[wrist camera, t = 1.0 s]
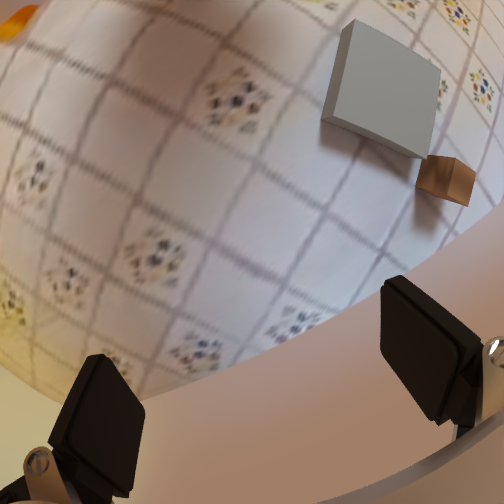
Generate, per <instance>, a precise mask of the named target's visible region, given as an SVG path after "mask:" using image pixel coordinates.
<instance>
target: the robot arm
mask: <svg viewBox="0 0 504 504" xmlns="http://www.w3.org/2000/svg"><path fill="white" fill-rule="evenodd" d="M380 293H381V335H380V337H381V339H380V350H381V353H382V355H383V357H384V358H385V360H386V361H387V362H388V364H389V365H390V366H391V368H392V369H393V370H394V372H395V373H396V374H397V376H398V377H399V379H400V380H401V381H402V383H403V384H404V385H405V387H406V388H407V390H408V391H409V393H410V394H411V395H412V397H413V398H414V400H415V401H416V402H417V404H418V405H419V407H420V408H421V410H422V411H423V412H424V414H425V415H426V417H427V418H428V419H429V420H430V421H433V420H434V421H435V422H436V424H437V425H438V426H439V425H441V424H443V423H444V422H446V421H447V420H449V419H451V421H452V422H453V423H454V431H453V437H452V442H451V443H450V444H449V445H447V446H445V447H444V448H442V449H440V450H439V451H437V452H435V453H434V454H432V455H430V456H428V457H426V458H425V459H423V460H421V461H419V462H417V463H415V464H414V465H412V466H410V467H408V468H406V469H404V470H402V471H400V472H398V473H396V474H393V475H391V476H389V477H387V478H385V479H383V480H380V481H378V482H375V483H373V484H370V485H368V486H365V487H363V488H360V489H358V490H355V491H352V492H350V493H347V494H344V495H341V496H338V497H335V498H332V499H328V500H325V501H321V502H318V503H314V504H504V336H498V337H494V338H492V339H490V340H489V341H488V342H487V343H485V345H483V344H482V343H481V342H480V341H481V339H480V338H479V337H478V336H477V335H476V334H475V333H473V332H472V331H471V330H470V329H469V328H468V327H466V326H465V325H464V324H463V323H462V322H461V321H459V320H458V319H457V318H456V317H455V316H453V315H452V314H451V313H449V311H447V310H446V309H445V308H444V307H442V306H441V305H440V304H439V303H437V302H436V301H435V300H433V299H432V298H431V297H430V296H428V295H427V294H426V293H424V292H423V291H422V290H421V289H419V288H418V287H417V286H416V285H414V284H413V283H412V282H410V281H409V280H408V279H406V278H405V277H404V276H402V275H398V276H395V277H393V278H390V279H387V280H385V282H384V285H383V286H382V287H381V290H380ZM144 420H145V410H144V408H143V406H142V404H141V403H140V402H139V400H138V399H137V397H136V396H135V395H134V393H133V392H132V390H131V389H130V388H129V386H128V385H127V383H126V382H125V380H124V379H123V377H122V376H121V374H120V373H119V371H118V370H117V368H116V367H115V365H114V364H113V362H112V360H111V359H110V358H109V357H106V356H105V355H104V354H97V355H90V356H88V357H87V358H86V360H85V362H84V364H83V366H82V368H81V370H80V372H79V374H78V376H77V378H76V380H75V382H74V384H73V386H72V388H71V390H70V392H69V394H68V396H67V398H66V401H65V403H64V405H63V407H62V409H61V412H60V414H59V416H58V419H57V420H56V423H55V425H54V428H53V430H52V432H51V435H50V437H49V439H48V443H49V444H50V445H51V446H52V447H53V450H52V451H51V450H49V449H48V448H47V447H37V448H34V449H33V450H32V451H30V452H29V454H28V455H27V456H26V458H25V460H24V464H23V470H24V476H22V477H20V478H19V479H17V480H16V481H14V482H13V483H11V484H9V485H8V486H6V487H5V488H3V489H2V490H1V491H0V504H114V502H113V501H112V496H113V495H114V496H115V497H121V498H129V492H130V491H131V490H132V489H133V484H134V478H135V470H136V464H137V459H138V453H139V447H140V441H141V436H142V430H143V425H144Z"/></svg>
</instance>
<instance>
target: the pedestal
mask: <svg viewBox="0 0 504 504" xmlns="http://www.w3.org/2000/svg"><path fill="white" fill-rule="evenodd" d="M440 76H441V70H440V69H439V68H438V67H436V66H435V65H434V64H432V63H431V62H429V61H428V60H426V59H425V58H423V57H422V56H420V55H419V54H417V53H416V52H414V51H413V50H411V49H410V48H408V47H406V46H405V45H403V44H402V43H400V42H398V41H396V40H395V39H393V38H391V37H390V36H388V35H386V34H384V33H382V32H380V31H379V30H377V29H375V28H373V27H371V26H369V25H367V24H365V23H363V22H361V21H359V20H357V19H354V20H353V21H352V22H351V23H349V24H348V25H347V26H346V27H345V28H344V29H342V33H341V38H340V42H339V46H338V51H337V55H336V59H335V64H334V68H333V72H332V76H331V80H330V84H329V88H328V92H327V96H326V100H325V104H324V108H323V112H322V116H321V120H324V121H327V122H329V123H332V124H335V125H337V126H340V127H342V128H345V129H347V130H350V131H352V132H355V133H357V134H360V135H362V136H364V137H367V138H369V139H371V140H373V141H376V142H378V143H380V144H382V145H384V146H387V147H389V148H391V149H393V150H395V151H397V152H399V153H401V154H403V155H405V156H407V157H409V158H419V159H427V156H428V151H429V146H430V142H431V137H432V131H433V126H434V120H435V114H436V108H437V101H438V94H439V85H440Z"/></svg>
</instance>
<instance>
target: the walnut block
mask: <svg viewBox="0 0 504 504" xmlns="http://www.w3.org/2000/svg"><path fill="white" fill-rule="evenodd" d="M475 175H476V172H475V171H473V170H472V169H471V168H469V167H468V166H466V165H465V164H464V163H462V162H461V161H459V160H458V159H456V158H452V157H444V156H435V155H428V156H427V159H422V161H421V165H420V170H419V174H418V177H417V181H416V185H415V186H416V187H418V188H420V189H422V190H424V191H426V192H428V193H430V194H432V195H434V196H436V197H439V198H442V199H445V200H448V201H452V202H455V203H458V204H461V205H464V206H467V207H468V204H469V201H470V197H471V193H472V189H473V184H474V180H475Z"/></svg>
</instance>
